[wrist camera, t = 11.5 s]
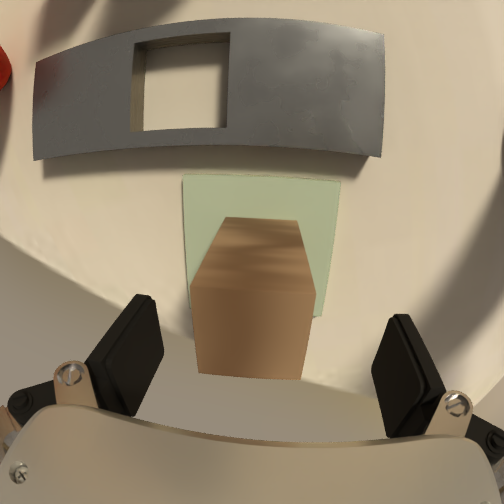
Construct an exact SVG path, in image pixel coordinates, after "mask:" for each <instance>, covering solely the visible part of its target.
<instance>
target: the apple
mask: <svg viewBox="0 0 504 504" xmlns="http://www.w3.org/2000/svg"><path fill="white" fill-rule="evenodd" d="M10 73H11V64H10V61H9V59H8V57H7V55H6V53H5V52H4V50H3V49H2V47H1V46H0V90H1V89H2V88H3V87H4V86H5V85H6V83H7V81H8V78H9V76H10Z"/></svg>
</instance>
